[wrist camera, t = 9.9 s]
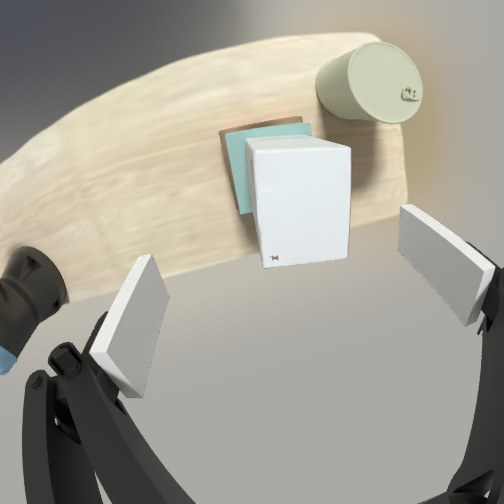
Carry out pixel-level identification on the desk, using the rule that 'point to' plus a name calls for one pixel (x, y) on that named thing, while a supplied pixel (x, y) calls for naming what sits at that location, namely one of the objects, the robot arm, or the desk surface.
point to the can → (371, 84)
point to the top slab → (238, 155)
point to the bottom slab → (246, 127)
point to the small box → (299, 198)
